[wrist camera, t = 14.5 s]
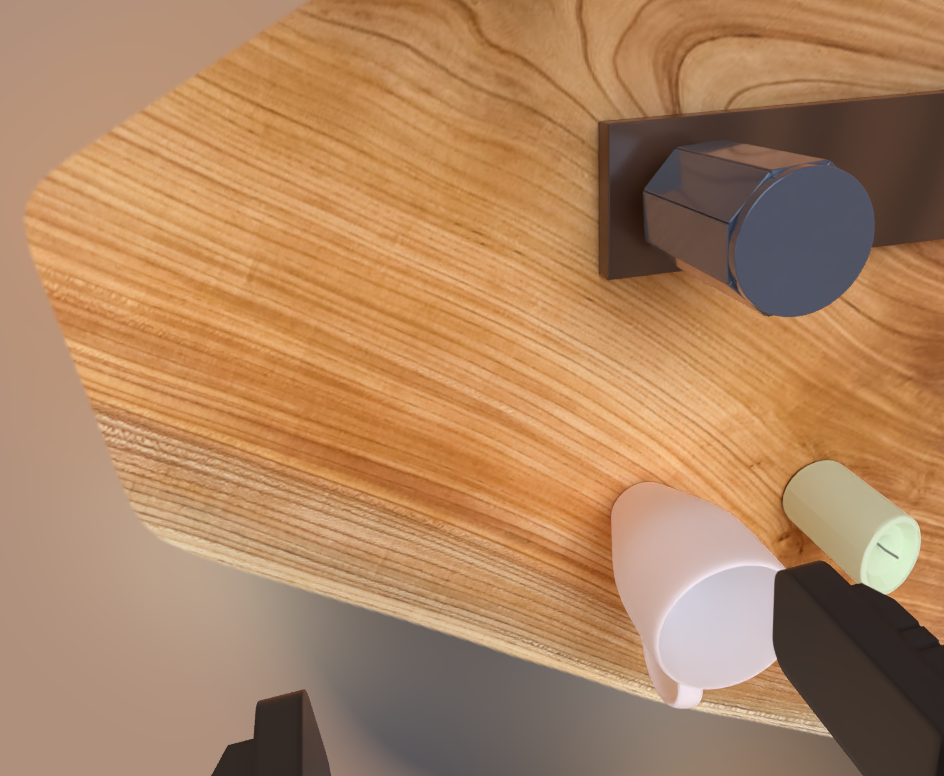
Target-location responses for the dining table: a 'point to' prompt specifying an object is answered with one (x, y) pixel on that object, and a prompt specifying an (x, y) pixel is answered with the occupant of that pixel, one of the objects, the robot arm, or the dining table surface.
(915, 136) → the cup stand
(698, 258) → the cup
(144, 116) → the dining table surface
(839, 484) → the candle
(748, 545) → the mug
